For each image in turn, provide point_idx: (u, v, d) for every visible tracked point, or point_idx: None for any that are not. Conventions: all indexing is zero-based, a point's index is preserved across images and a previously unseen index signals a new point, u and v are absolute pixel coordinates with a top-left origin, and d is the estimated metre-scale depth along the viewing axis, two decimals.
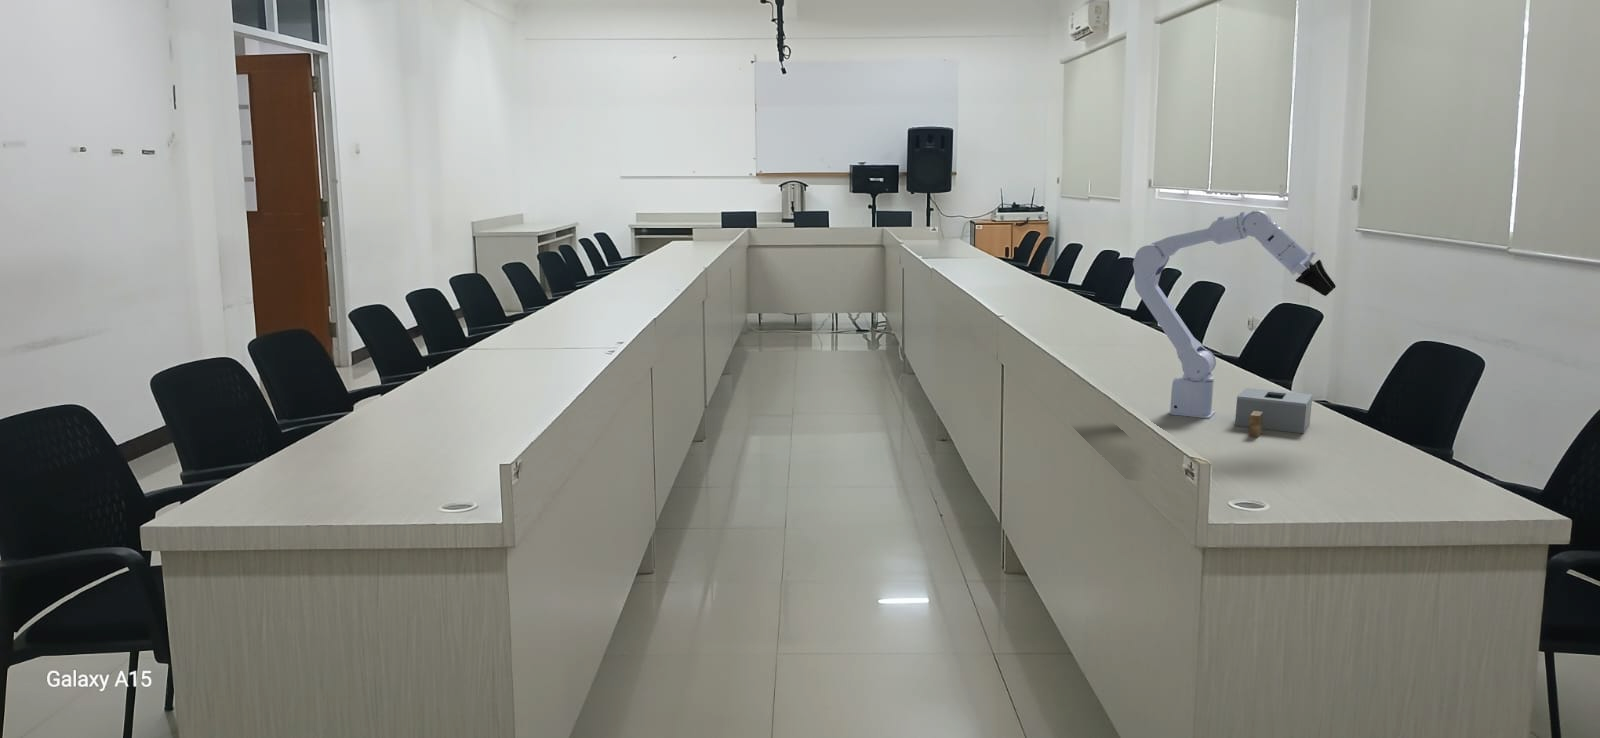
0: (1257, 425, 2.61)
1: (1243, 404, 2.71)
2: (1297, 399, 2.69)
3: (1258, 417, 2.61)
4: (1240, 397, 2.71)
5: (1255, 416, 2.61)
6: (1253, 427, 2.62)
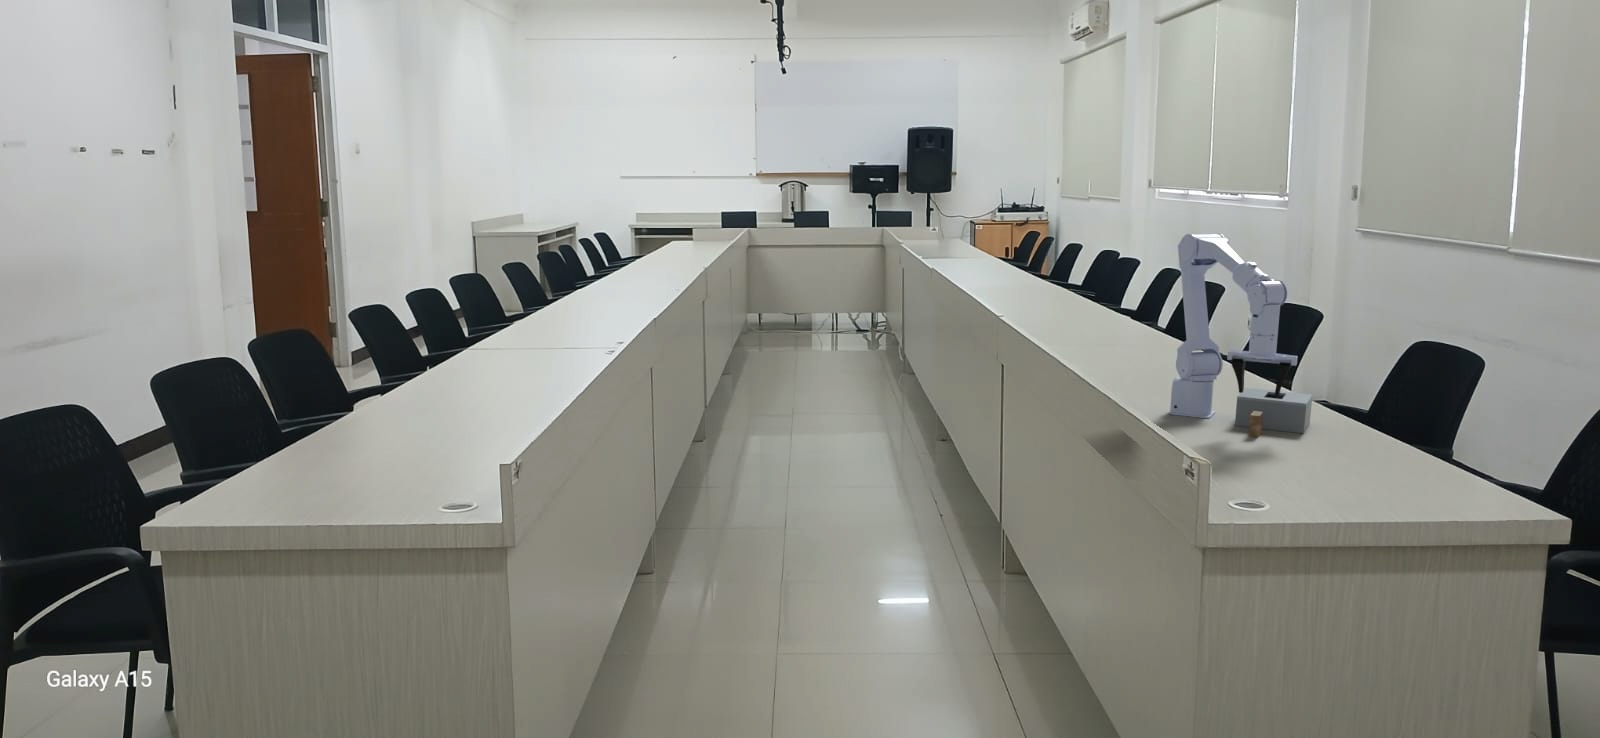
0: (1257, 425, 2.61)
1: (1243, 404, 2.71)
2: (1297, 399, 2.69)
3: (1258, 417, 2.61)
4: (1240, 397, 2.71)
5: (1255, 416, 2.61)
6: (1253, 427, 2.62)
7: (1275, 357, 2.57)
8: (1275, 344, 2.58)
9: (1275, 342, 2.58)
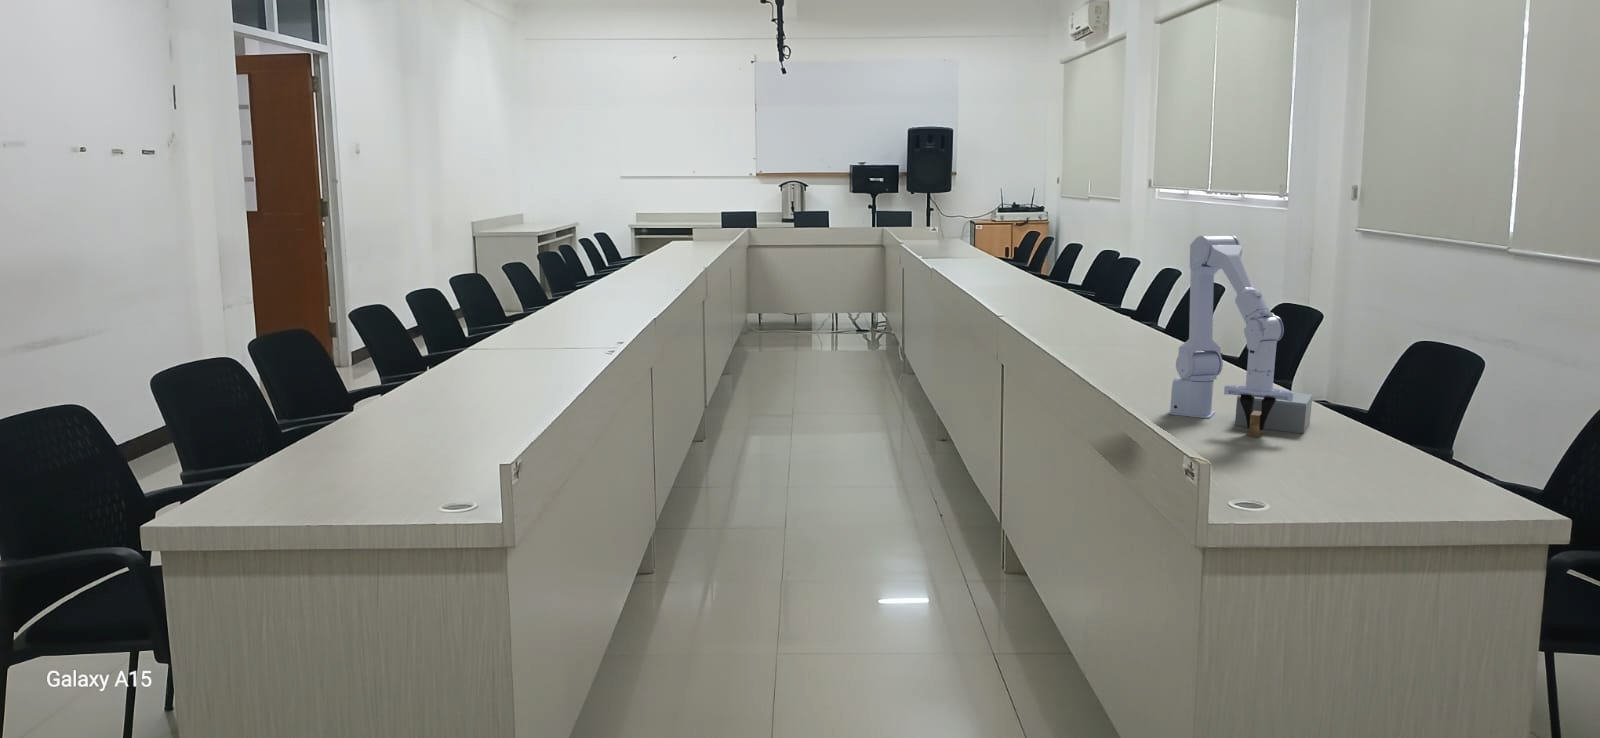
0: (1257, 425, 2.61)
1: None
2: (1297, 399, 2.69)
3: (1258, 417, 2.61)
4: None
5: (1255, 416, 2.61)
6: (1253, 427, 2.62)
7: (1271, 393, 2.59)
8: (1271, 380, 2.60)
9: (1271, 378, 2.59)
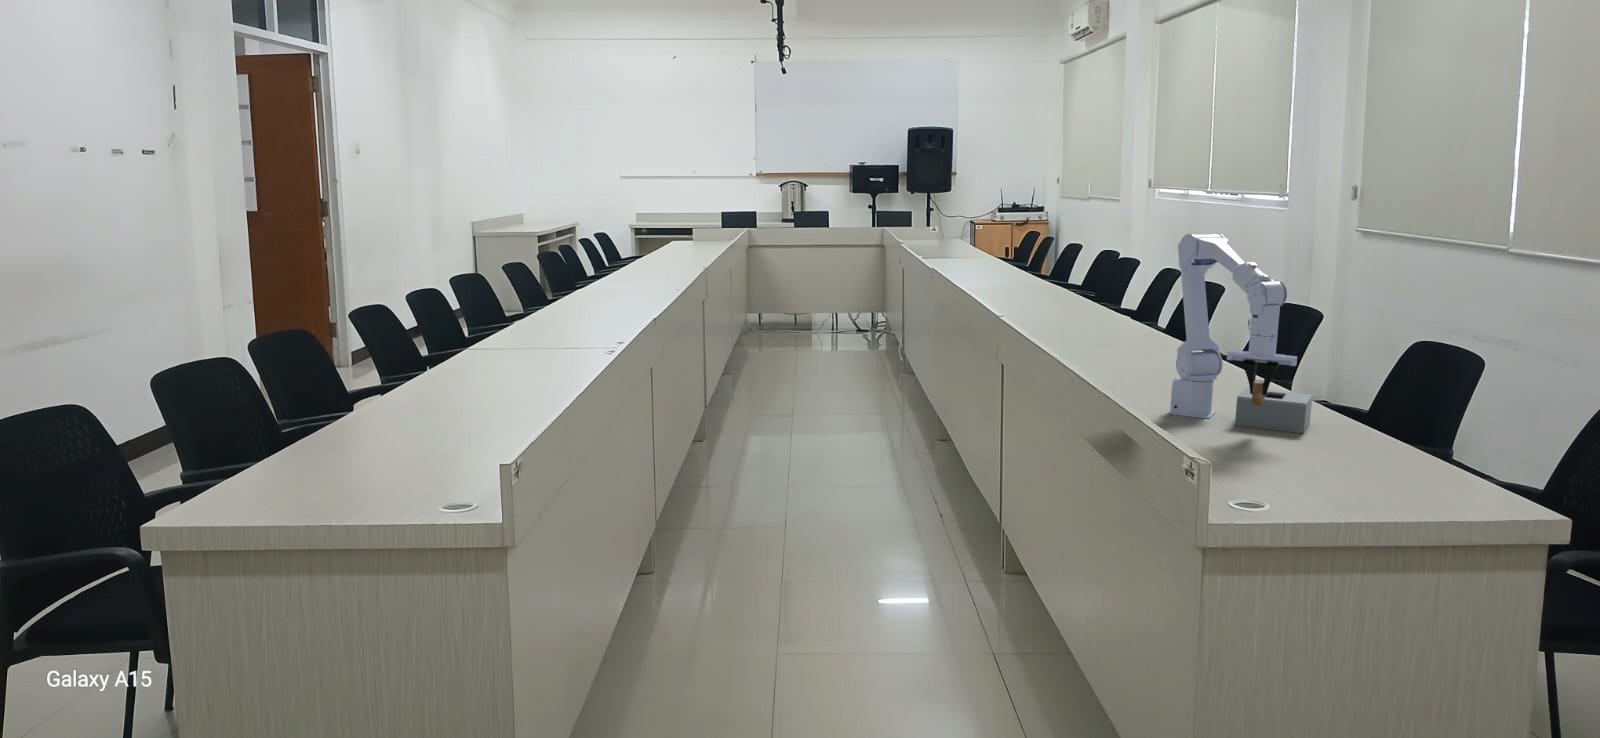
0: (1260, 393, 2.60)
1: (1243, 404, 2.71)
2: (1297, 399, 2.69)
3: (1261, 385, 2.60)
4: (1240, 397, 2.71)
5: (1258, 384, 2.60)
6: (1256, 395, 2.60)
7: (1275, 357, 2.57)
8: (1275, 344, 2.58)
9: (1275, 342, 2.58)
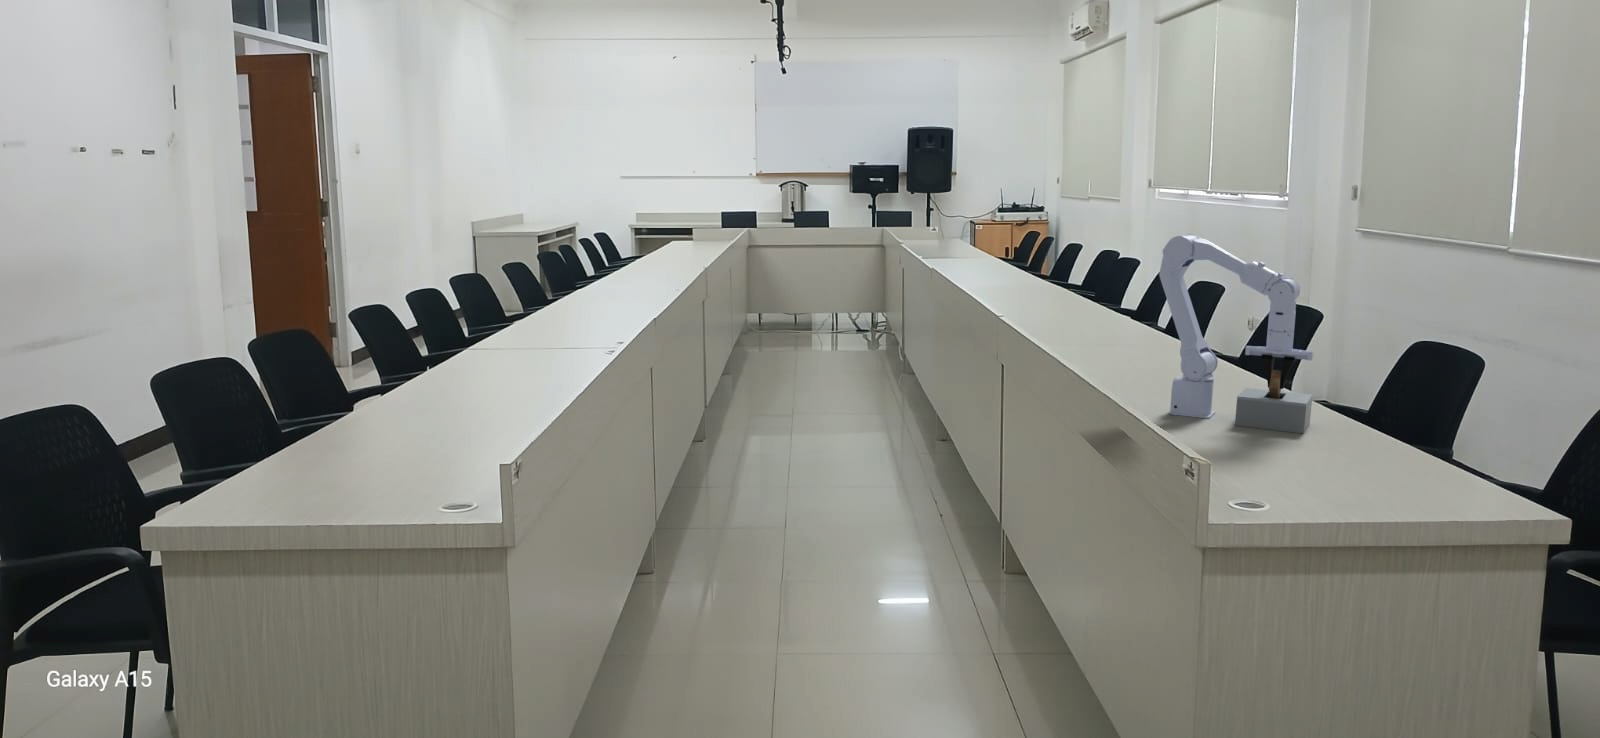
0: (1278, 378, 2.69)
1: (1243, 404, 2.71)
2: (1297, 399, 2.69)
3: (1280, 371, 2.70)
4: (1240, 397, 2.71)
5: (1277, 371, 2.71)
6: (1274, 379, 2.70)
7: (1291, 352, 2.68)
8: (1292, 340, 2.68)
9: (1292, 338, 2.68)
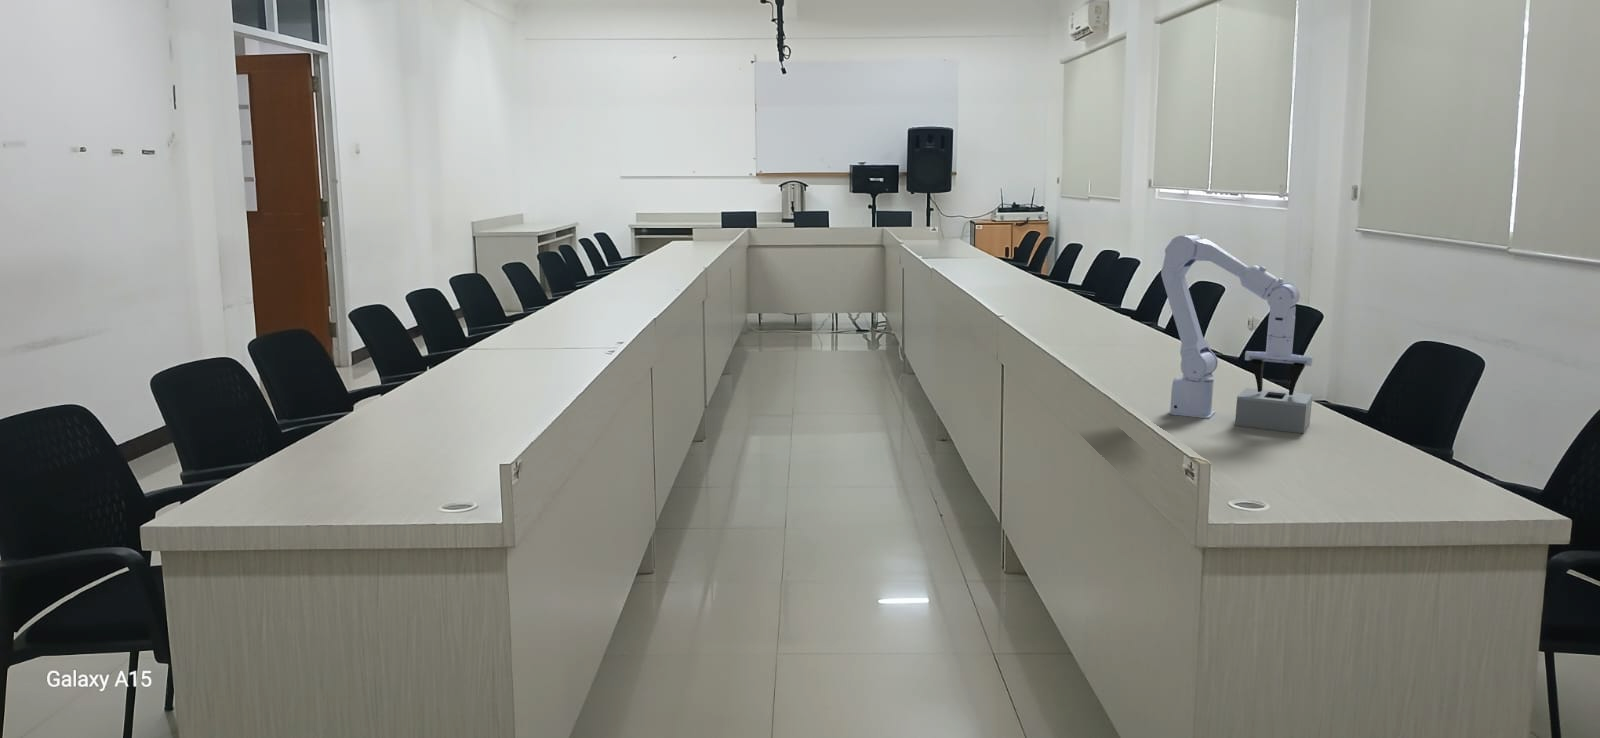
0: None
1: (1243, 404, 2.71)
2: (1297, 399, 2.69)
3: None
4: (1240, 397, 2.71)
5: None
6: None
7: (1291, 358, 2.68)
8: (1291, 345, 2.69)
9: (1291, 343, 2.69)
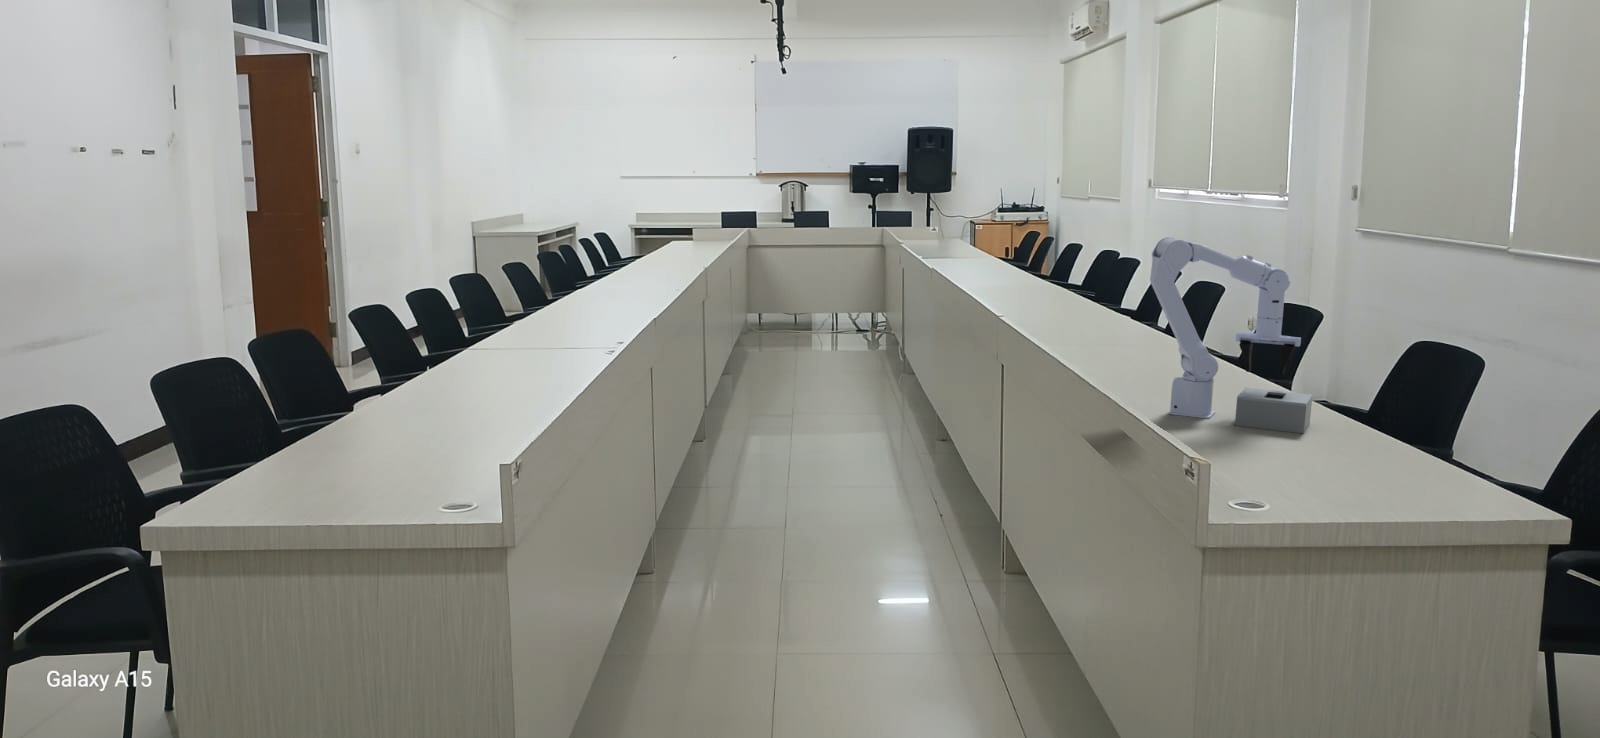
0: None
1: (1243, 404, 2.71)
2: (1297, 399, 2.69)
3: None
4: (1240, 397, 2.71)
5: None
6: None
7: (1280, 339, 2.78)
8: (1280, 327, 2.78)
9: (1280, 325, 2.78)
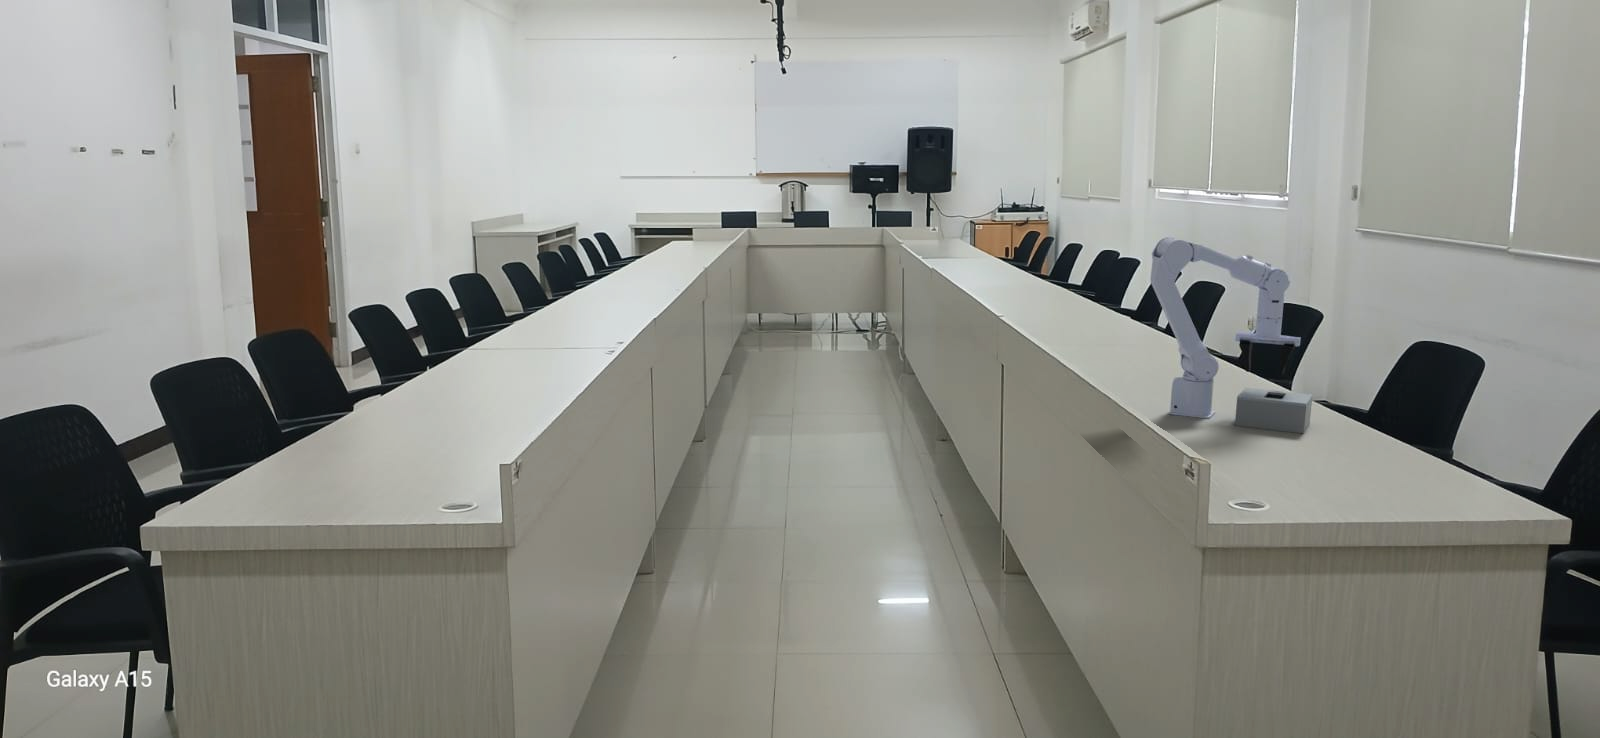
0: None
1: (1243, 404, 2.71)
2: (1297, 399, 2.69)
3: None
4: (1240, 397, 2.71)
5: None
6: None
7: (1280, 338, 2.78)
8: (1280, 326, 2.79)
9: (1280, 325, 2.78)
